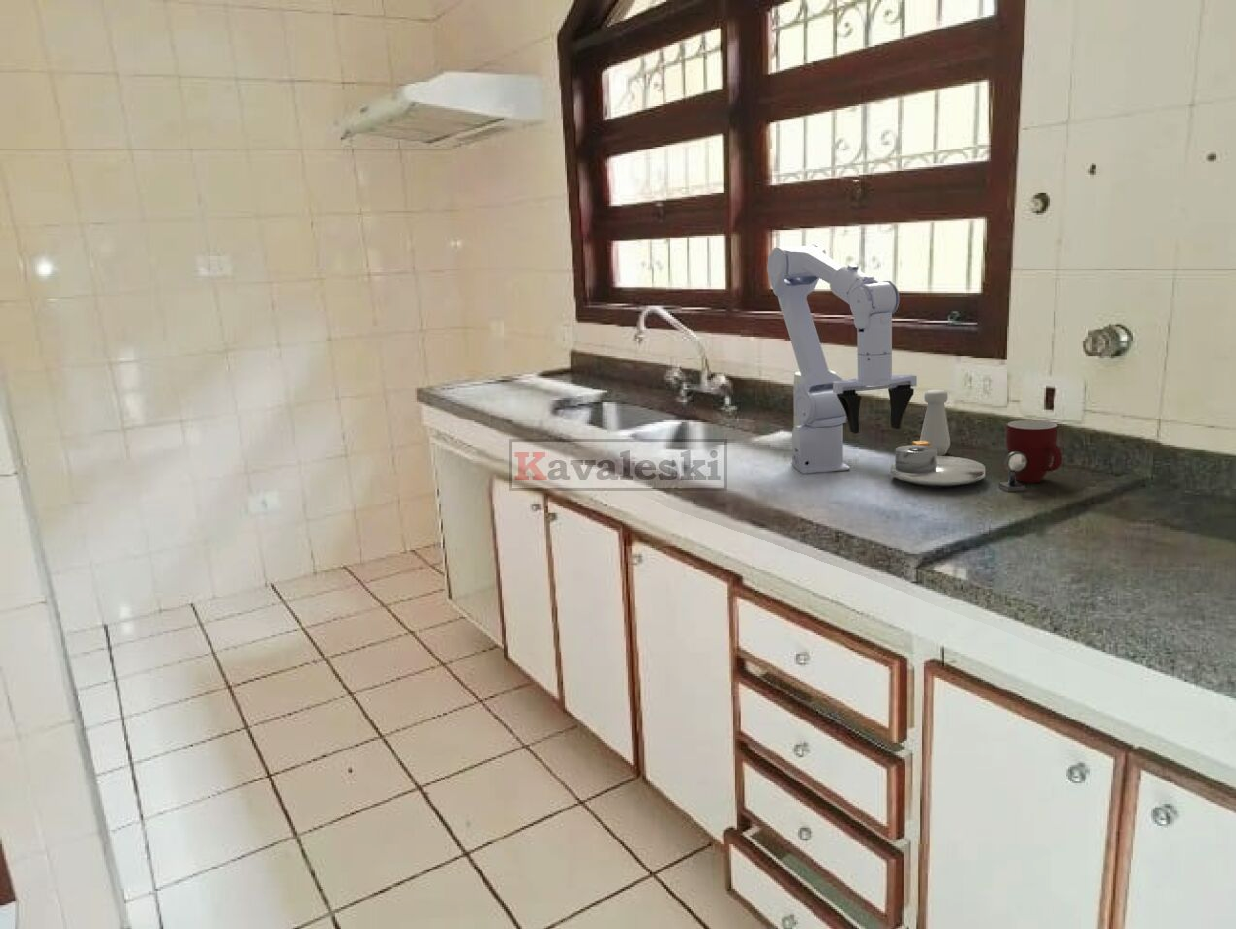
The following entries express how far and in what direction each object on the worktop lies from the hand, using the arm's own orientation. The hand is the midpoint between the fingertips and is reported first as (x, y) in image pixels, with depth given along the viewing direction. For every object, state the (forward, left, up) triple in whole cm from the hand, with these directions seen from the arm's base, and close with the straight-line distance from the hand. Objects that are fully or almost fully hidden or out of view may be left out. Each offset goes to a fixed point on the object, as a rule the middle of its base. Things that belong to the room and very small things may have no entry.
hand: (875, 430), depth 148 cm
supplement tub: (+3, +42, -11) cm, 44 cm away
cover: (+8, 0, -8) cm, 11 cm away
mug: (+27, -6, -11) cm, 29 cm away
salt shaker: (+20, +18, -11) cm, 29 cm away
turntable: (+12, 0, -9) cm, 15 cm away
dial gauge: (+21, -9, -10) cm, 25 cm away
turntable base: (+12, 0, -10) cm, 16 cm away
